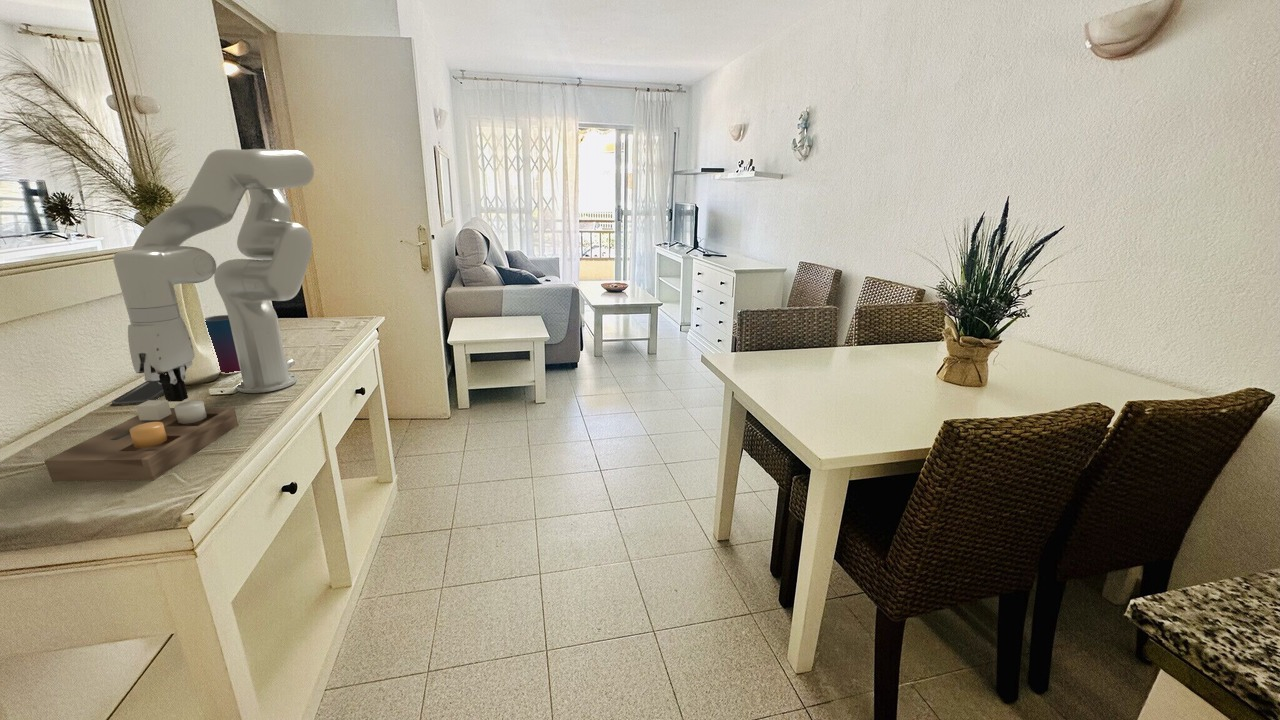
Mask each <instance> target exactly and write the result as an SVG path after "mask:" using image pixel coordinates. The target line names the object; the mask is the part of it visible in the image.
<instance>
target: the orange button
mask: <svg viewBox="0 0 1280 720" xmlns="http://www.w3.org/2000/svg"><path fill="white" fill-rule="evenodd" d="M129 431H130V434H131V438H132V441H133V444H134V447H136V448H147V447H152V446H156V445H159V444H161V443H163V442H165V441H166V440H167V436H166V432H165V429H164V425H163V423H162V422H149V423H144V424H140V425H137V426H134V427H132V428H131V429H130V430H129Z"/></svg>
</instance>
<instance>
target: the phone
mask: <svg viewBox="0 0 1280 720" xmlns="http://www.w3.org/2000/svg"><path fill="white" fill-rule="evenodd" d="M162 395H163V396H165V395H164V391H163V387H162V384H159V383H158V381H146V380H145V382H143V383H141V384H139V385H138V386H136V387H134V388H133V389H131V390H129V391H128V392H126V393H123V394H121V395H120V396H118V397H117V398H115V399H113V400H112V401H111V404H112V406H122V405H121V404H130V405H137V404H136V403H144V402H146V401H148V400H156V399H157V400H159V399H160V398H161V396H162ZM163 396H162V397H163ZM159 397H160V398H159ZM158 398H159V399H158Z"/></svg>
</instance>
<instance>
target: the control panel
mask: <svg viewBox="0 0 1280 720" xmlns="http://www.w3.org/2000/svg"><path fill="white" fill-rule="evenodd" d="M170 410H171V413H172V414H171V415H169V416H167V417H165V418H163V419H161V420H140V419H139V416H138V414H137V415H135V416H134V417H131V418H130V419H127V420H125V421H123V422H120V423H118V424H117V425H115V426H112V427H111V428H109V429H106V430H105V431H103V432H100V433H99V434H96V435H94V436H92V437H90V438H88V439H86V440H84V441H82V442H80V443H78V444H76V445H74V446H72V447H70V448H68V449H65V450H63V451H61V452H59V453H57V454H55V455H53V456H51V457H49V458H47V459H45V460H44V464H45V466H46V469H47V471H48V474H49V477H50V480H51V482H52V483H56V482H59V483H60V482H61V483H62V482H115V481H116V482H117V481H119V482H121V481H123V482H125V481H128V482H129V481H154V480H157V479H158V478H159V477H161V476H162V475H164V474H165V473H167V472H169V471H170V470H172V469H173V468H175V467H177V466H178V465H179V464H181V463H183V462H184V461H185V460H188V459H189V458H191V457H192V456H193V455H195V454H197V453H198V452H199V451H201V450H203V449H204V448H206V447H207V446H208V445H209V446H210V445H211V444H212V443H213V442H215V441H216V440H218V439H219V438H221V437H223V436H224V435H225V434H227V433H229V432H230V431H232V430H233V429H235V428H236V427H238V426H239V421H238V417H237V413H236V408H235V407H205V411H206V415H207V417H206V418H205V419H203V420H201V421H198V422H194V423H187V424H181V423H178V420H177V417H176V413H175V409H174V407H170ZM149 422H162V423H163V425H164V429H165V432H166V436H167V440H166V441H165V442H163V443H161V444H159V445H156V446H152V447H147V448H136V447H134V444H133V441H132V438H131V434H130V431H129V430H130V429H131V428H132V427H134V426H137V425H140V424H144V423H149Z"/></svg>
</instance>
